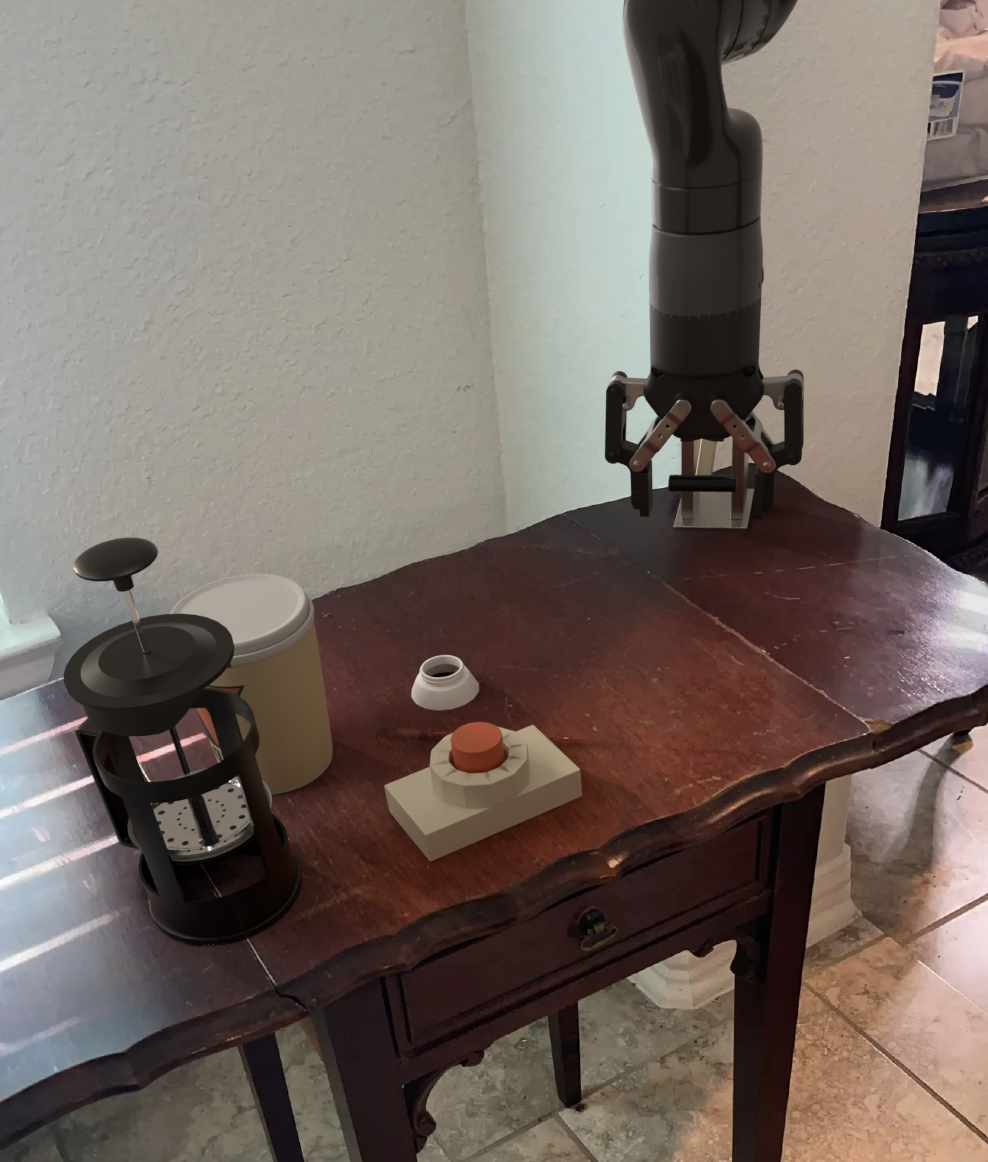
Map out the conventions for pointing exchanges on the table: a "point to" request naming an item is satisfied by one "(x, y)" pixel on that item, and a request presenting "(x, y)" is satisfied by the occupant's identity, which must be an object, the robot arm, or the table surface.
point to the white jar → (444, 684)
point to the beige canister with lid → (271, 673)
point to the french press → (195, 798)
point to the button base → (482, 793)
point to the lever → (703, 475)
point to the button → (477, 747)
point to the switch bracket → (715, 495)
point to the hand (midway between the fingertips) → (702, 513)
